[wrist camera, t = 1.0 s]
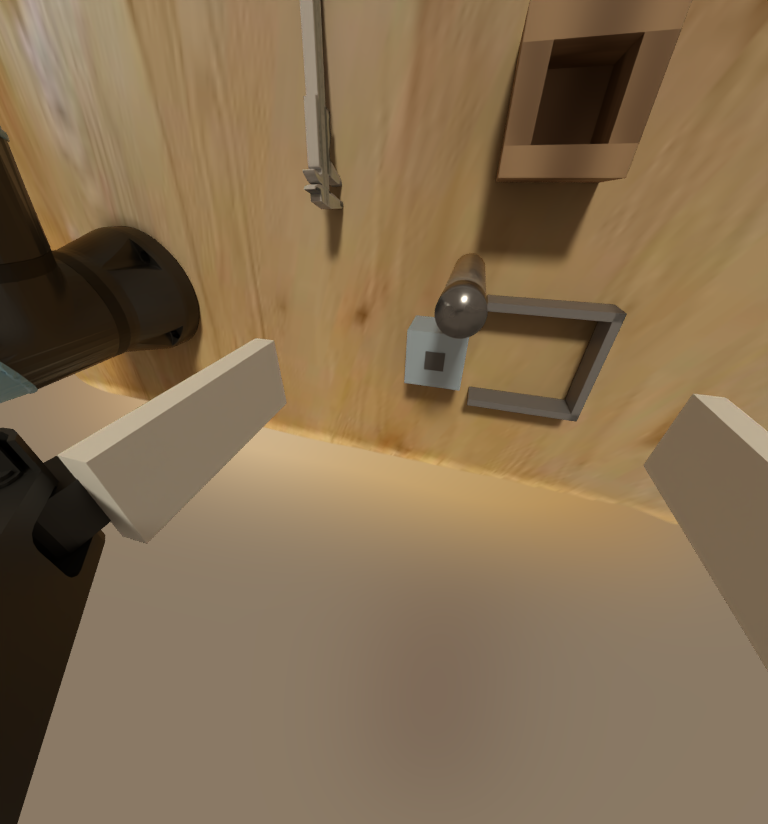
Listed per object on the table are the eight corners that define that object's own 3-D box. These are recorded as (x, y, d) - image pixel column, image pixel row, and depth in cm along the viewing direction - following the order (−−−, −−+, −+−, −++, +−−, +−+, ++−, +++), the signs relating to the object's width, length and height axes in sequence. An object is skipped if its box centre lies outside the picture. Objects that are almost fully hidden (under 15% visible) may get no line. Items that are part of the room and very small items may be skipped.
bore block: (495, 182, 26) (498, 177, 21) (520, 41, 22) (531, -5, 17) (598, 182, 25) (626, 177, 20) (649, 30, 20) (701, -24, 15)
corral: (468, 392, 38) (467, 404, 35) (487, 294, 31) (488, 302, 29) (570, 406, 35) (576, 421, 33) (614, 304, 29) (626, 313, 26)
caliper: (345, 208, 30) (318, 209, 25) (335, 208, 31) (306, 210, 26) (310, -186, 19) (249, -325, 14) (294, -179, 19) (228, -314, 14)
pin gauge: (451, 285, 31) (432, 335, 20) (455, 251, 30) (437, 284, 18) (482, 287, 31) (481, 341, 19) (488, 253, 29) (492, 288, 17)
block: (412, 363, 38) (404, 383, 34) (416, 315, 34) (407, 330, 30) (462, 370, 36) (459, 391, 32) (470, 320, 33) (469, 336, 29)
